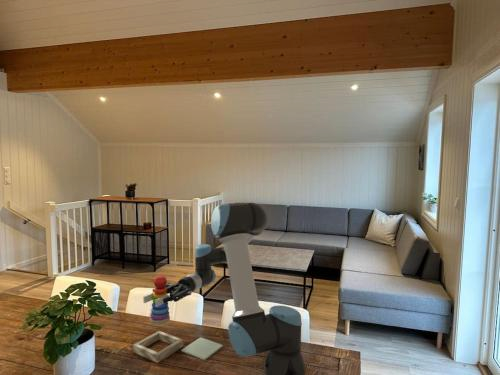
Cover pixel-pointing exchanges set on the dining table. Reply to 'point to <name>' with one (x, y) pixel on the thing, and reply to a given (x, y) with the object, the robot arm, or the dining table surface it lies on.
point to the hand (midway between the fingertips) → (150, 301)
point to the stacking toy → (161, 312)
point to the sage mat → (202, 348)
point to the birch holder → (158, 356)
